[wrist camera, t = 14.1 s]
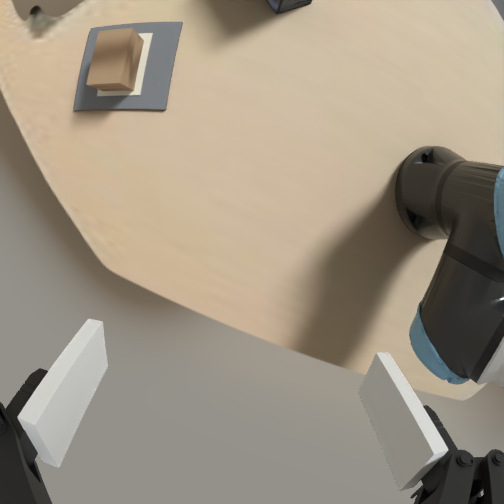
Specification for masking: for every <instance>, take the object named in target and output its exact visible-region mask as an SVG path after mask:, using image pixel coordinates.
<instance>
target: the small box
mask: <svg viewBox="0 0 504 504" xmlns="http://www.w3.org/2000/svg"><path fill="white" fill-rule="evenodd" d="M267 1H268V3H269V4H270V6H271V7H272V9H273V10H274V12H275V13H276V14H278V13H282V12H285V11H288V10H291V9H295V8H298V7H302V6H305V5H309V4H311V2H312V0H267Z"/></svg>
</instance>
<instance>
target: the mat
mask: <svg viewBox="0 0 504 504" xmlns="http://www.w3.org/2000/svg"><path fill="white" fill-rule="evenodd" d="M182 24H183V23H182V22H149V23H133V24H121V25H112V26H104V27H96V28H91V30H90V34H89V37H88V41H87V45H86V49H85V53H84V57H83V62H82V66H81V71H80V76H79V81H78V86H77V92H76V98H75V104H74V110H97V109H154V110H166V106H167V100H168V94H169V88H170V82H171V77H172V71H173V66H174V61H175V56H176V51H177V46H178V41H179V37H180V32H181V28H182ZM124 28H133V29H134V30H135V31H136V32H137V33H138V34H139V36H140V37H141V38H142V39H143V40H144V44H143V48H142V53H141V57H140V62H139V67H138V72H137V77H136V82H135V88H134V91H101V90H98V89H96V88H93V87H91V86H88V85H87V79H88V74H89V70H90V65H91V60H92V56H93V52H94V48H95V44H96V40H97V36H98V33H99V31H104V30H113V29H124Z"/></svg>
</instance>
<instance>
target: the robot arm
mask: <svg viewBox="0 0 504 504" xmlns="http://www.w3.org/2000/svg"><path fill="white" fill-rule="evenodd" d="M396 203H397V208H398V211H399V214H400V216H401V218H402V220H403V221H404V223H405V224H406V225H407V227H408V228H409V229H411V230H412V231H413V232H415V233H417V234H418V235H420V236H422V237H425V238H428V239H434V240H438V239H448V241H447V243H446V246H445V249H444V251H443V253H442V256H441V258H440V261H439V263H438V266H437V268H436V271H435V273H434V276H433V278H432V280H431V282H430V285H429V287H428V289H427V291H426V293H425V295H424V297H423V299H422V301H421V302H420V303H419V305H418V309H417V313H416V316H415V318H414V320H413V322H412V324H411V327H410V332H409V336H410V341H411V346H412V348H413V350H414V352H415V354H416V355H417V357H418V358H419V360H420V361H421V362H422V363H423V364H424V365H425V366H426V367H427V369H429V370H430V371H431V372H432V373H433V374H434V375H436V376H437V377H439V378H440V379H442V380H445V379H446V380H447V381H448V382H449V383H451V384H463V383H465V382H466V381H468V380H469V379H472V380H473V381H474V382H476V383H477V384H478V385H479V384H483V383H487V382H490V381H495V382H497V383H498V384H499V385H501V386H502V387H503V388H504V166H501V165H494V164H488V163H480V162H473V161H467V160H465V159H464V158H462V157H461V156H459V155H458V154H456V153H455V152H453V151H451V150H450V149H447V148H444V147H439V146H426V147H422V148H419V149H417V150H416V151H414V152H413V153H412V154H410V155H409V157H408V158H407V159H406V160H405V162H404V163H403V165H402V167H401V169H400V171H399V174H398V178H397V182H396ZM107 368H108V362H107V355H106V348H105V339H104V330H103V322H102V321H97V320H93V319H88V320H87V321H86V322H85V324H84V325H83V326H82V327H81V329H80V330H79V331H78V332H77V334H76V335H75V336H74V338H73V339H72V340H71V342H70V343H69V344H68V346H67V347H66V348H65V350H64V351H63V352H62V353H61V355H60V356H59V358H58V359H57V360H56V362H55V363H54V364H53V366H52V367H51V368H50V370H49V371H46V370H44V369H38V370H37V371H35V372H33V373H32V374H31V375H30V376H29V377H28V379H27V380H26V381H25V384H23V385H22V387H21V388H20V391H18V392H17V393H16V395H15V396H14V398H13V399H12V401H11V402H10V404H9V405H8V406H7V408H6V409H5V408H4V406H3V404H2V403H1V402H0V504H52V502H51V500H50V497H49V495H48V493H47V490H46V488H45V485H44V483H43V480H42V477H41V474H40V472H39V469H38V466H37V463H36V461H35V458H36V456H37V454H39V456H40V458H41V459H42V461H44V462H46V463H48V464H50V465H53V466H55V467H58V468H59V467H60V465H61V463H62V460H63V458H64V456H65V454H66V451H67V449H68V447H69V445H70V442H71V440H72V438H73V436H74V434H75V432H76V430H77V427H78V425H79V423H80V421H81V419H82V417H83V415H84V413H85V411H86V409H87V407H88V404H89V403H90V401H91V399H92V397H93V395H94V393H95V391H96V389H97V387H98V385H99V383H100V381H101V379H102V377H103V375H104V373H105V372H106V370H107ZM358 394H359V396H360V398H361V400H362V403H363V405H364V407H365V409H366V412H367V414H368V417H369V419H370V421H371V424H372V426H373V428H374V431H375V433H376V435H377V438H378V440H379V442H380V445H381V447H382V450H383V452H384V454H385V457H386V459H387V462H388V464H389V467H390V469H391V472H392V474H393V477H394V479H395V482H396V484H397V486H398V489H399V491H401V490H405V489H409V488H412V487H414V486H415V485H416V484H417V483H418V482H419V481H420V480H421V481H422V483H423V485H422V486H421V487H420V488H419V489H418V490H417V491H416V492H415V493H414V494H413V495H412V496H411V498H413V497H415V496H416V495H417V497H416V499H415V502H414V504H504V453H503V452H502V451H500V450H496V449H495V450H491V451H490V452H489V453H488V454H487V455H486V456H485V457H476V458H475V457H473V456H472V455H471V454H470V453H469V452H467V451H465V450H458V449H457V447H456V446H455V444H454V442H453V441H452V439H451V437H450V436H449V434H448V432H447V431H446V429H445V428H443V424H442V423H441V421H440V420H439V418H438V416H437V415H436V413H435V412H434V411H433V410H432V409H431V408H430V407H429V406H427V405H426V406H422V404H421V402H420V401H419V399H418V397H417V396H416V394H415V393H414V391H413V390H412V388H411V386H410V385H409V383H408V382H407V380H406V378H405V377H404V375H403V374H402V372H401V371H400V369H399V368H398V366H397V365H396V363H395V361H394V360H393V358H392V357H391V355H390V354H389V353H376V354H375V357H374V359H373V361H372V364H371V366H370V368H369V370H368V372H367V375H366V377H365V379H364V381H363V383H362V385H361V387H360V389H359V391H358ZM482 490H483V492H484V495H483V496H482V497H481V493H480V492H481V491H482Z"/></svg>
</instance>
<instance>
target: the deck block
mask: <svg viewBox="0 0 504 504" xmlns="http://www.w3.org/2000/svg"><path fill="white" fill-rule="evenodd" d="M143 44H144V40H143V39H142V38H141V37H140V36H139V34H138V33H137V32H136V31H135V30H134V29H133V28H124V29H113V30H104V31H99V33H98V36H97V40H96V44H95V48H94V52H93V56H92V60H91V65H90V70H89V74H88V79H87V85H88V86H91V87H93V88H96V89H98V90H101V91H134V88H135V82H136V77H137V72H138V67H139V62H140V57H141V53H142V48H143Z"/></svg>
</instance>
